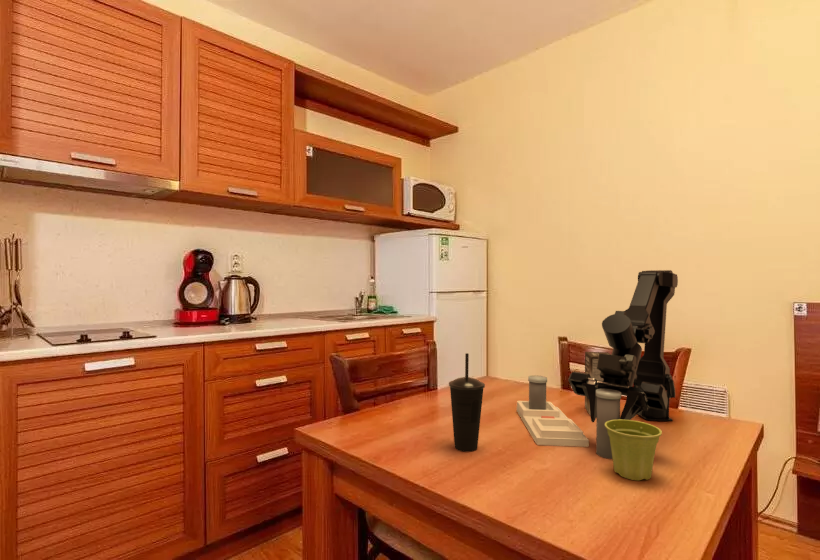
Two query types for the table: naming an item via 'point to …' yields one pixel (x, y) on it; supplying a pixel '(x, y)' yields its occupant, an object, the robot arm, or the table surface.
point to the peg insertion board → (548, 418)
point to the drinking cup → (466, 410)
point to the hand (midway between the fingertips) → (605, 424)
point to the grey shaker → (606, 419)
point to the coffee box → (592, 370)
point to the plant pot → (633, 447)
